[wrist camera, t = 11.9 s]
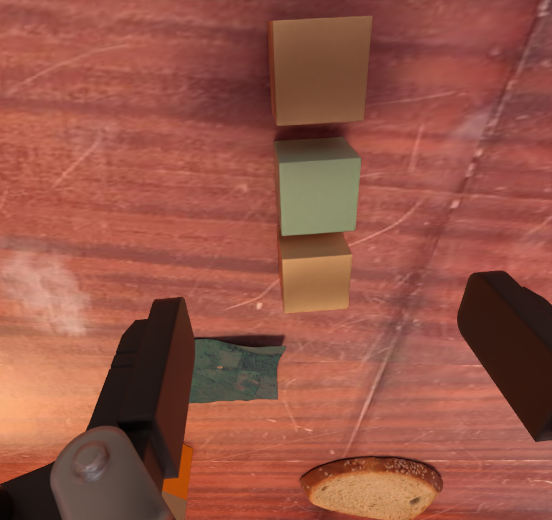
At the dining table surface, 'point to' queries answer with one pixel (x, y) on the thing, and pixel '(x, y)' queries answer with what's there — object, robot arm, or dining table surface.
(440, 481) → the bread slice
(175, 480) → the orange juice
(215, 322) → the dining table surface
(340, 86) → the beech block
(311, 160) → the sage block
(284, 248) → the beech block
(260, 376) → the terrain model
